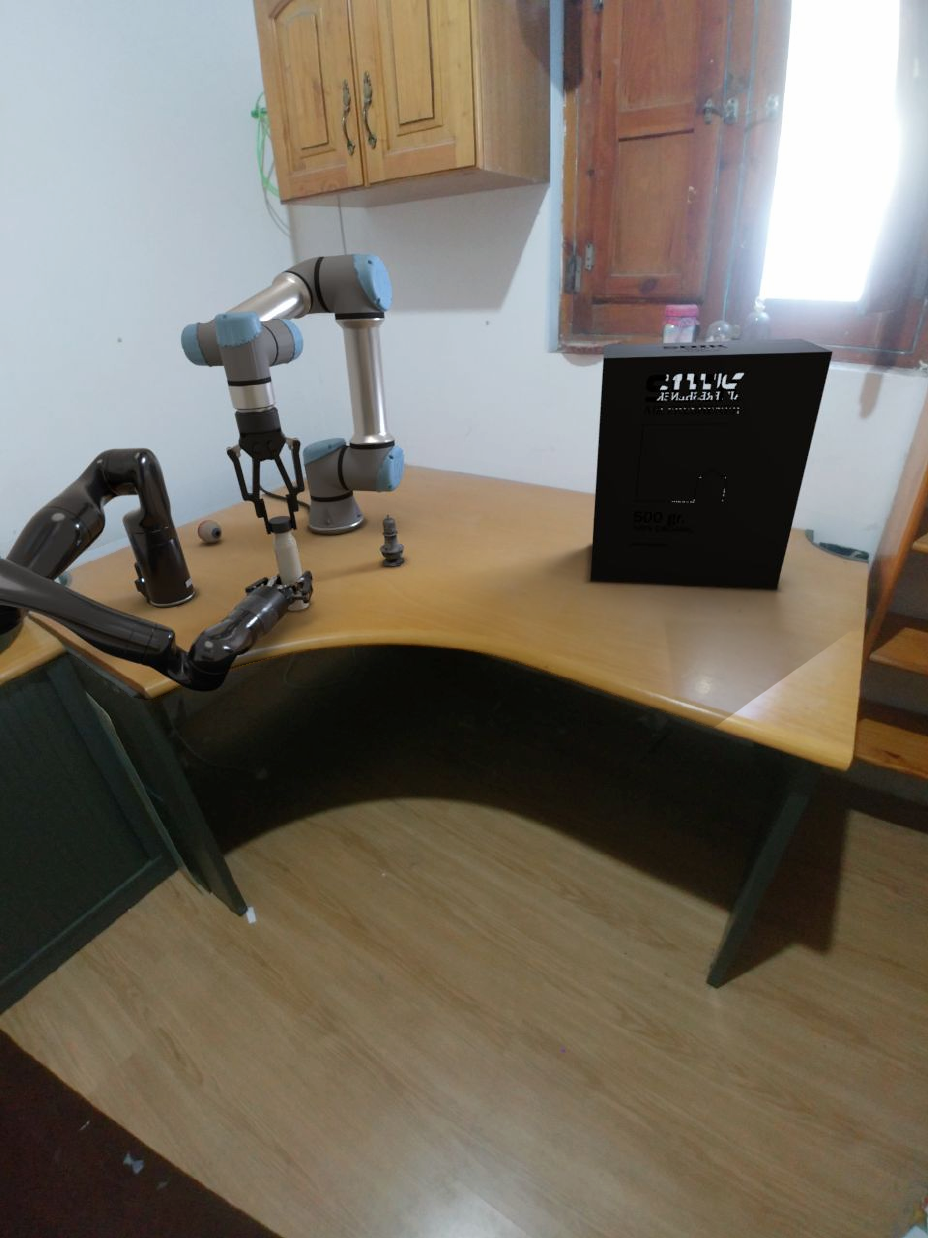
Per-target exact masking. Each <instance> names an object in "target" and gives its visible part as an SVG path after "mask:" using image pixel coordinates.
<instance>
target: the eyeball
mask: <svg viewBox="0 0 928 1238" xmlns="http://www.w3.org/2000/svg"><path fill="white" fill-rule="evenodd" d="M222 534H223V529H222V527H221V525H220V524H219V523H218V522H217V521H215V520H212V519H207V520H204V521H202V522H201V523H200V524H199V525H198V527H197V535H198V538H199V539H201V540H202V541H203V542H205V543H208V544H213V543H216V542H218V541H219V540H220V539H221V538H222Z"/></svg>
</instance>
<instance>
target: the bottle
mask: <svg viewBox="0 0 928 1238" xmlns="http://www.w3.org/2000/svg"><path fill="white" fill-rule="evenodd" d="M273 534H274V537H273V541H272V542H273V543H272V546H273V552H274V555H275V560H276V564H277V569H278V572H279V573H278V574H280V578H281V582H282V585H284V584H286V583H288V582H290V581H291V580H293V581H296V580H297V579H299V578H300V577H301V576H302V575H303V574H304V572H303V568H302V562H301V558H300V554H299V548H298V544H297V541H296V538H295V537H294V536H293V534H292V532H291V531H289V532H286V533H280V534H275V533H273ZM298 588H300V584H299V585H298ZM309 606H310V602H309V603H307V604H305V603H303V601H302V600H298V601H295V603H293V604H291V605H289V607H288V609H287V610H288V611H291V612H298V611H302V610H304V609H306V608H308V607H309Z"/></svg>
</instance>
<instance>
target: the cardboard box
mask: <svg viewBox="0 0 928 1238" xmlns="http://www.w3.org/2000/svg"><path fill="white" fill-rule="evenodd" d="M833 353H834V352H833V350H830V349H827V348H826V347H825V348H824V347H822V346H821V345H818V344H815V343H813V342H810V341H808V340H805V339H802V338H783V339H782V338H781V339H779V338H777V339H776V338H775V339H749V340H747V339H746V340H723V341H722V340H720V341H719V340H718V341H689V342H687V341H685V342H683V341H682V342H657V343H654V342H653V343H627V344H625V343H624V344H623V343H621V344H604V345H603V359H602V362H603V363H602V375H601V389H600V390H601V392H600V409H599V424H598V425H599V426H598V427H599V428H598V442H597V457H596V458H597V459H596V460H597V461H596V475H595V493H594V496H595V497H594V508H593V509H594V510H593V525H592V527H593V528H592V541H591V557H590V558H591V560H590V575H589V576H590V577H589V580H590V582H603V583H622V584H623V583H625V584H626V583H628V584H645V585H647V584H648V585H669V586H670V585H671V586H693V587H712V588H714V587H715V588H734V589H735V588H737V589H755V590H757V589H758V590H759V589H760V590H778V586H779V582H780V577H781V574H782V570H783V565H784V561H785V556H786V553H787V548H788V543H789V539H790V536H791V531H792V526H793V522H794V519H795V513H796V510H797V505H798V501H799V497H800V493H801V489H802V484H803V480H804V476H805V471H806V467H807V464H808V463H807V462H808V458H809V455H810V450H811V446H812V442H813V437H814V434H815V430H816V425H817V421H818V417H819V411H820V407H821V404H822V400H823V399H822V398H823V394H824V390H825V386H826V381H827V378H828V374H829V369H830V366H831V360H832V356H833ZM738 374H742V376H741V377H740V378H735V376H736V375H738ZM678 375H681V379H680V380H679V384H678V388H675V385H676V379H675V377H676V376H678ZM689 375H693V380H692V381H691V379H688V376H689ZM702 375H704V379H702ZM719 378H720V382H719ZM724 378H725V382H724ZM723 382H724V385H730V384H731V385H734V388H725V387H724V386H723ZM691 383H692V385H695V388H691ZM705 385H710V388H704V386H705ZM662 387H666V389H662Z"/></svg>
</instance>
